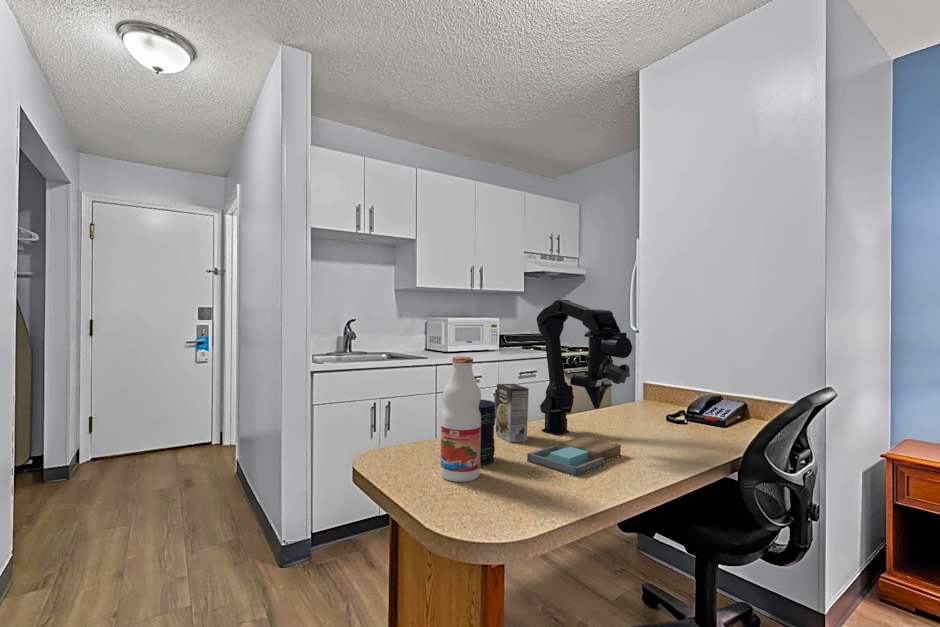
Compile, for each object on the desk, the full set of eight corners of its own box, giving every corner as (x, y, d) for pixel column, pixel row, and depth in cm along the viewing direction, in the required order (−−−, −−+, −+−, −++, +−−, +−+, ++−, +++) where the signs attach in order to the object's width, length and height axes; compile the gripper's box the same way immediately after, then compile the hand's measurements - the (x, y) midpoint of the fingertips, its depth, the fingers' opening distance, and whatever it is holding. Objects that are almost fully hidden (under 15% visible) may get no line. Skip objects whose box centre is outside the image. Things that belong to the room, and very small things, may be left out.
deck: (560, 453, 134) (560, 442, 134) (582, 446, 142) (583, 435, 141) (598, 464, 125) (599, 452, 125) (620, 455, 133) (620, 445, 133)
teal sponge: (549, 460, 125) (549, 452, 125) (569, 453, 132) (569, 446, 132) (568, 466, 121) (569, 458, 121) (588, 459, 127) (589, 451, 127)
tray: (527, 461, 126) (527, 453, 126) (555, 452, 135) (556, 444, 135) (576, 476, 116) (576, 468, 116) (603, 465, 124) (604, 458, 124)
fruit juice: (486, 472, 117) (488, 357, 117) (470, 485, 108) (472, 360, 108) (451, 466, 121) (453, 354, 121) (433, 478, 112) (435, 358, 112)
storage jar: (491, 467, 121) (492, 408, 121) (452, 464, 123) (454, 405, 123) (497, 455, 131) (498, 400, 130) (461, 452, 133) (462, 398, 132)
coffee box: (494, 435, 151) (496, 383, 151) (512, 433, 154) (513, 382, 154) (509, 443, 143) (510, 388, 143) (527, 441, 146) (529, 387, 145)
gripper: (605, 359, 126) (603, 418, 126) (641, 355, 138) (639, 409, 139) (569, 354, 134) (568, 410, 134) (607, 351, 147) (605, 402, 147)
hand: (596, 408), depth 138 cm, fingers closed
